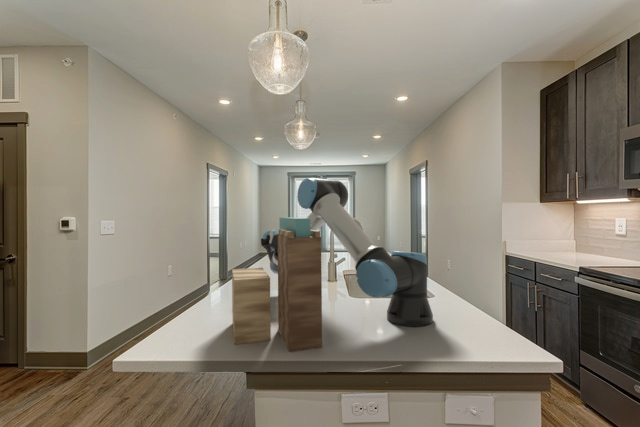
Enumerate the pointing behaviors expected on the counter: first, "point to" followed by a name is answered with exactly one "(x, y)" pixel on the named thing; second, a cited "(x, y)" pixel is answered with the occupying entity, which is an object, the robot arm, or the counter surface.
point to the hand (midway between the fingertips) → (290, 232)
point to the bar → (296, 225)
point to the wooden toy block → (251, 305)
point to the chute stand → (300, 290)
